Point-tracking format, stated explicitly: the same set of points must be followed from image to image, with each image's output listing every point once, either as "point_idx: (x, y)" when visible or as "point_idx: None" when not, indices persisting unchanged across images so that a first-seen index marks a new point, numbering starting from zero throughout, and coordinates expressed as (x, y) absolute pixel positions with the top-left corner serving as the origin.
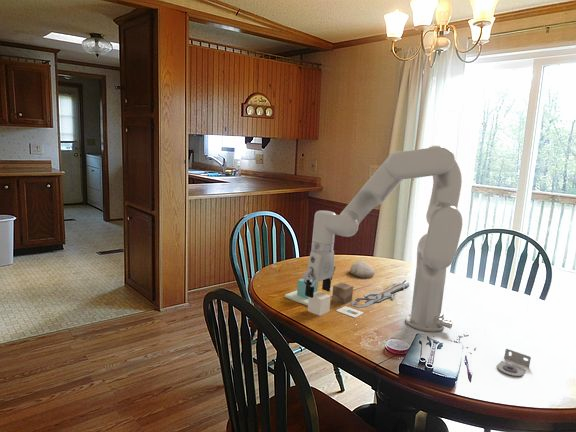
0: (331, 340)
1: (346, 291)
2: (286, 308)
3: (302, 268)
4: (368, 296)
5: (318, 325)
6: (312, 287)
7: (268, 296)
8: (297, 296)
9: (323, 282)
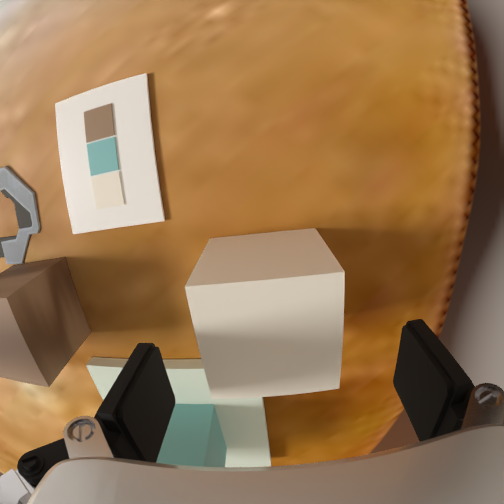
0: (467, 16)
1: (8, 290)
2: (370, 387)
3: None
4: None
5: (422, 143)
6: (464, 385)
7: None
8: (239, 439)
9: (156, 443)
